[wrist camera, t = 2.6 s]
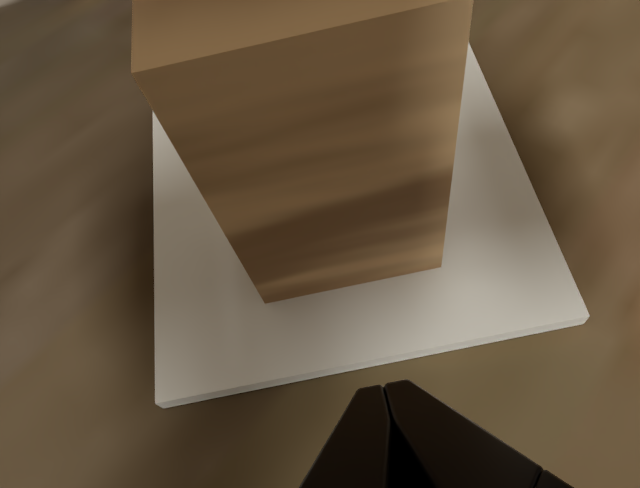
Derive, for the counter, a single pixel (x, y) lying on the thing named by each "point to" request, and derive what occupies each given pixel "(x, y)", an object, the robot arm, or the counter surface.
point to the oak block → (312, 128)
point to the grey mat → (363, 299)
